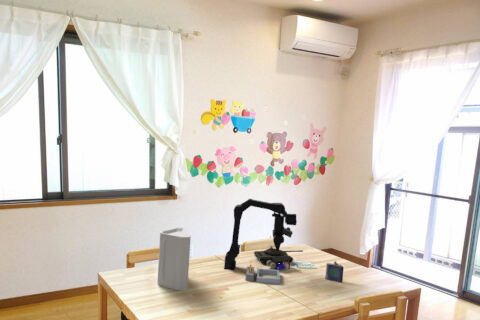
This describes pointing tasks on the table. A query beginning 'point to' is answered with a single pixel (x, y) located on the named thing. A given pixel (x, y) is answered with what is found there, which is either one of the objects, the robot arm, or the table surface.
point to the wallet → (334, 272)
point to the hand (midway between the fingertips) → (277, 249)
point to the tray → (269, 272)
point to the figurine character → (285, 263)
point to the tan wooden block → (250, 266)
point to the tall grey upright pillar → (174, 258)
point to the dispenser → (250, 274)
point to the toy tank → (271, 255)
